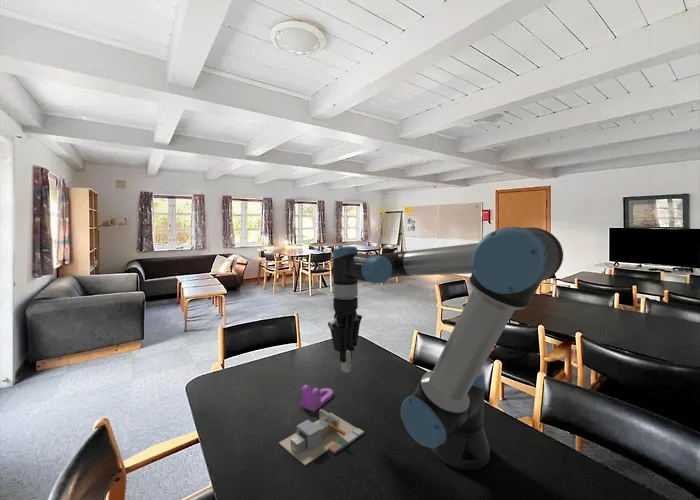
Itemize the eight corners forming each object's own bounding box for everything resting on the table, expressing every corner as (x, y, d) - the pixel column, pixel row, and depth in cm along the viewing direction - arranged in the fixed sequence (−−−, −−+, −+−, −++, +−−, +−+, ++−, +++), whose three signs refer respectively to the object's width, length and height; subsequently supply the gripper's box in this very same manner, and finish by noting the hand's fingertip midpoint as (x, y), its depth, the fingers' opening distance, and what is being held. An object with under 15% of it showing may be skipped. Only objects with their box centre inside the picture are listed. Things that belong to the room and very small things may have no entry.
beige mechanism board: (363, 433, 95) (363, 417, 94) (311, 470, 80) (310, 452, 80) (330, 413, 105) (330, 399, 104) (278, 443, 90) (278, 427, 90)
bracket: (314, 412, 106) (314, 392, 105) (301, 407, 108) (300, 387, 108) (335, 394, 117) (335, 376, 116) (323, 390, 120) (323, 372, 119)
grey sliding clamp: (349, 440, 91) (349, 425, 90) (312, 466, 81) (312, 449, 81) (321, 422, 99) (321, 408, 99) (285, 444, 89) (285, 428, 89)
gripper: (351, 291, 105) (351, 360, 107) (321, 298, 96) (322, 374, 98) (368, 294, 100) (368, 367, 102) (338, 302, 91) (339, 382, 92)
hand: (346, 370), depth 100 cm, fingers closed
